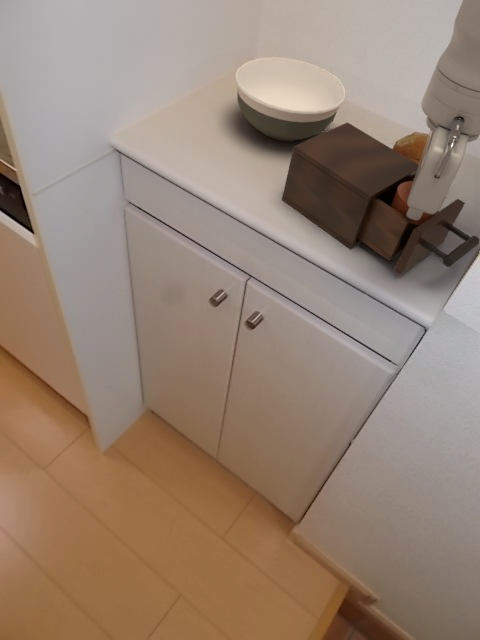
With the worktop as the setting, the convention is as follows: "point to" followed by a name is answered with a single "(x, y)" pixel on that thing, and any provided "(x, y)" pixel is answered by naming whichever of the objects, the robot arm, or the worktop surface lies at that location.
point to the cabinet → (342, 179)
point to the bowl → (288, 97)
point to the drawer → (412, 232)
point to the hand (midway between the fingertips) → (417, 200)
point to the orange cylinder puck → (401, 202)
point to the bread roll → (412, 146)
